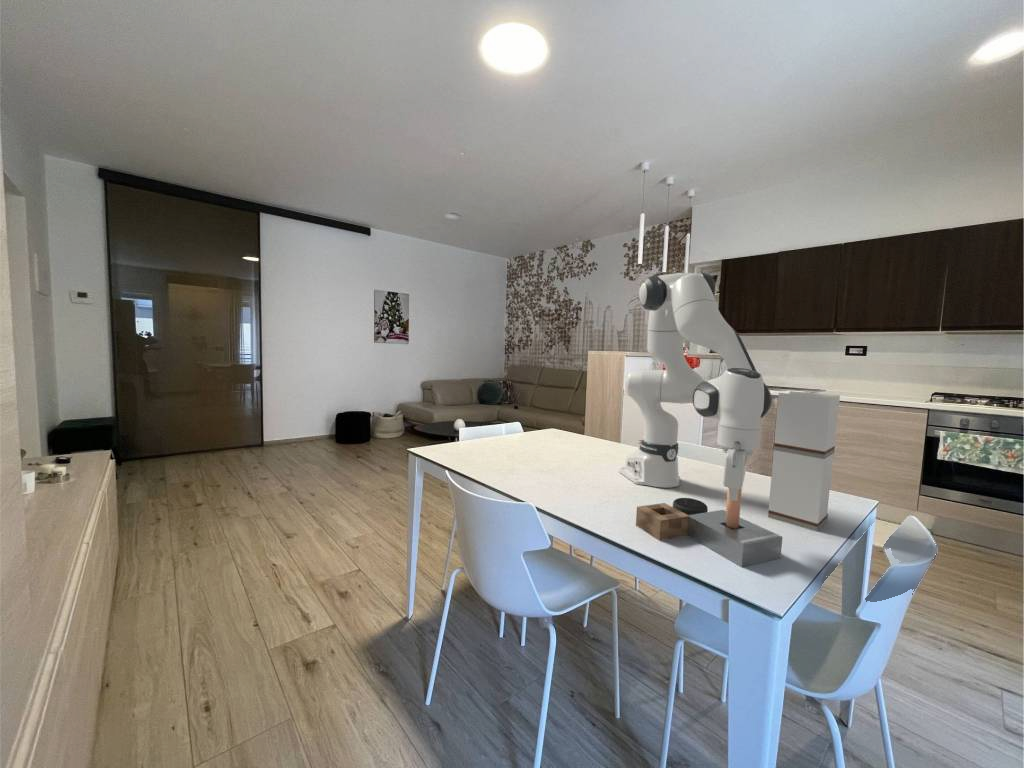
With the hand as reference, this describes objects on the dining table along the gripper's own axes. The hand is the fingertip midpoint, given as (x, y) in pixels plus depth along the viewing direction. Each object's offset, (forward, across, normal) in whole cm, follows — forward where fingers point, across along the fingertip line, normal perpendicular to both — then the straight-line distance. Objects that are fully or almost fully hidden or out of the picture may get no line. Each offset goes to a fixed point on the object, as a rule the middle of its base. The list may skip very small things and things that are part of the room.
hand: (734, 496), depth 97 cm
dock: (+12, 0, 0) cm, 12 cm away
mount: (+12, -1, +16) cm, 20 cm away
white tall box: (+12, +29, -14) cm, 35 cm away
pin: (+7, 0, 0) cm, 7 cm away
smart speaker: (+12, +14, +11) cm, 22 cm away
